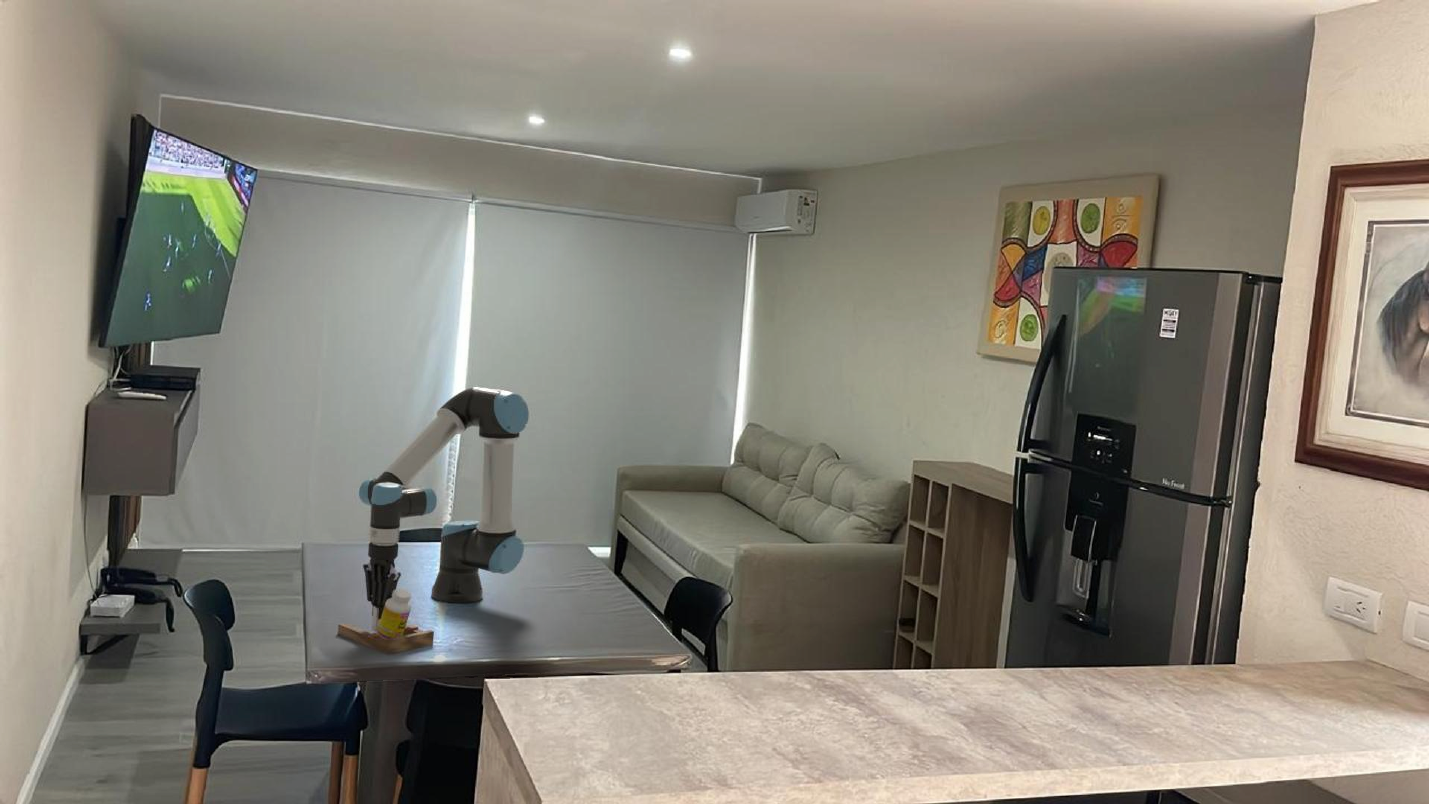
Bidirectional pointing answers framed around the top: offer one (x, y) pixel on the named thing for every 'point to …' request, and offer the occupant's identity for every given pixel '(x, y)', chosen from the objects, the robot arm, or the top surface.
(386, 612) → the supplement bottle
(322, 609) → the top surface
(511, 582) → the top surface
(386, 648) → the wooden frame
